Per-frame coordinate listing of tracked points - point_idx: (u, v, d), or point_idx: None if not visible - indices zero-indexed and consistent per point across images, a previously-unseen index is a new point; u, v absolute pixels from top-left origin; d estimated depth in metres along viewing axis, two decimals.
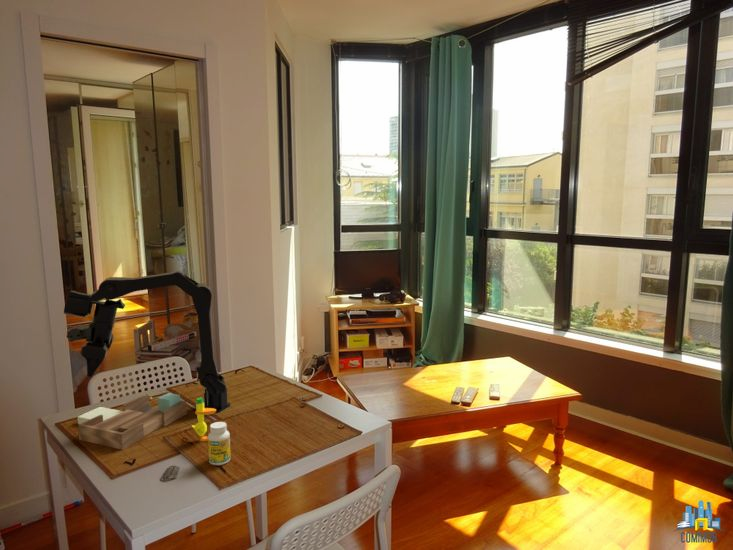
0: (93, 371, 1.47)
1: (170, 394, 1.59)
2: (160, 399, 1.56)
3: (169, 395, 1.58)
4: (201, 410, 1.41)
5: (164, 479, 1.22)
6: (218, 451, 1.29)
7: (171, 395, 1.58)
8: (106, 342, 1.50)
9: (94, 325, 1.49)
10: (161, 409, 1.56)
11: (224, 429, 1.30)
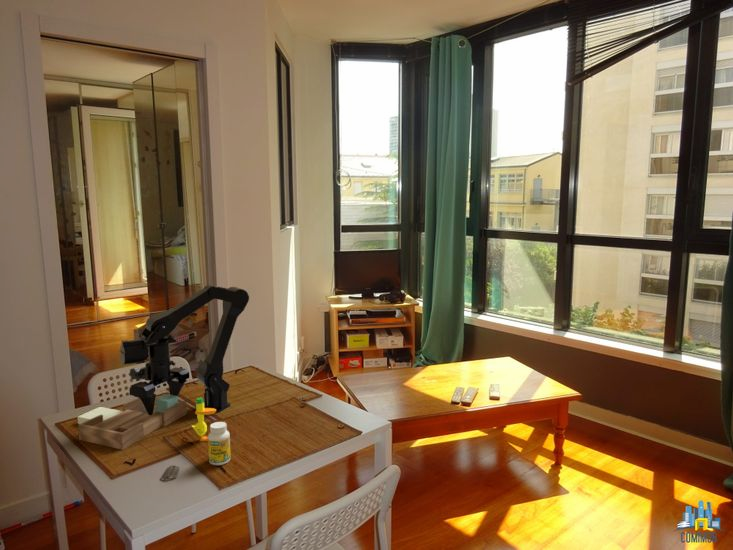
0: (150, 410, 1.49)
1: (168, 395, 1.58)
2: (158, 400, 1.55)
3: (167, 396, 1.57)
4: (201, 410, 1.41)
5: (164, 479, 1.22)
6: (218, 451, 1.29)
7: (168, 396, 1.57)
8: (160, 380, 1.51)
9: (148, 364, 1.51)
10: (159, 410, 1.55)
11: (224, 429, 1.30)
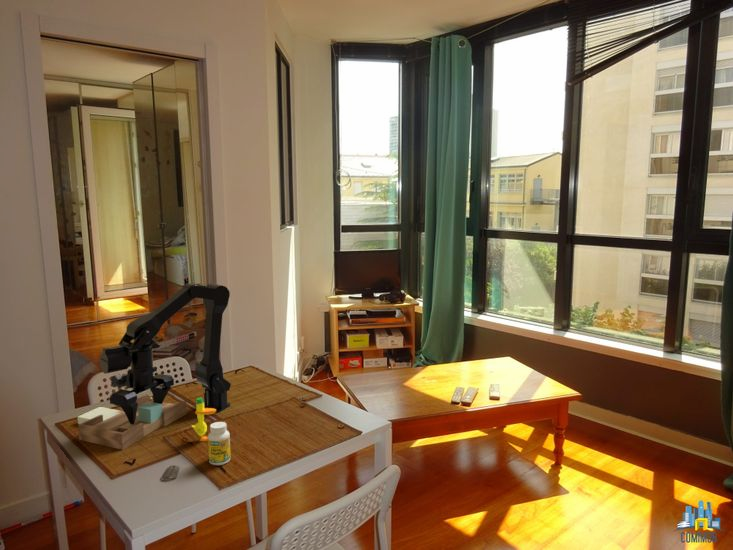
0: (132, 419, 1.43)
1: (151, 403, 1.52)
2: (140, 408, 1.49)
3: (150, 405, 1.51)
4: (201, 410, 1.41)
5: (164, 479, 1.22)
6: (218, 451, 1.29)
7: (152, 404, 1.51)
8: (142, 388, 1.44)
9: (130, 371, 1.45)
10: (142, 419, 1.49)
11: (224, 429, 1.30)
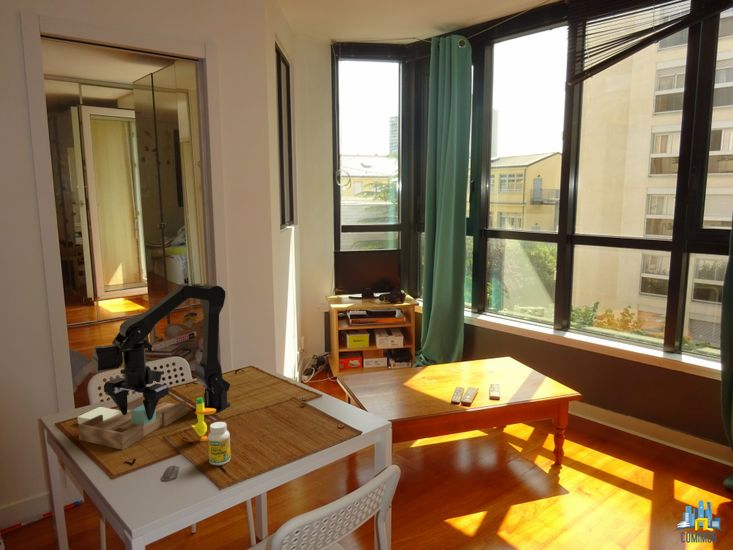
0: None
1: None
2: (133, 411, 1.47)
3: (143, 407, 1.49)
4: (201, 410, 1.41)
5: (165, 479, 1.22)
6: (218, 451, 1.29)
7: None
8: None
9: None
10: (135, 422, 1.47)
11: (224, 429, 1.30)
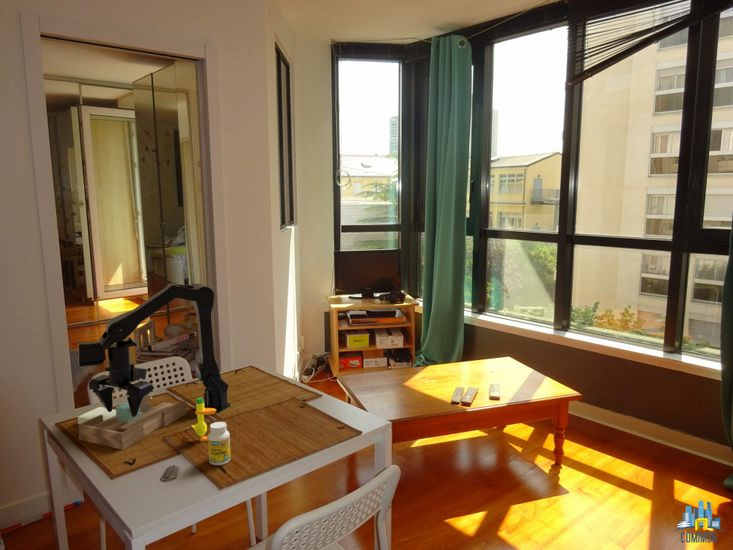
0: None
1: None
2: (118, 408, 1.49)
3: (128, 404, 1.51)
4: (201, 410, 1.41)
5: (165, 479, 1.22)
6: (218, 451, 1.29)
7: None
8: None
9: None
10: (119, 419, 1.49)
11: (224, 429, 1.30)
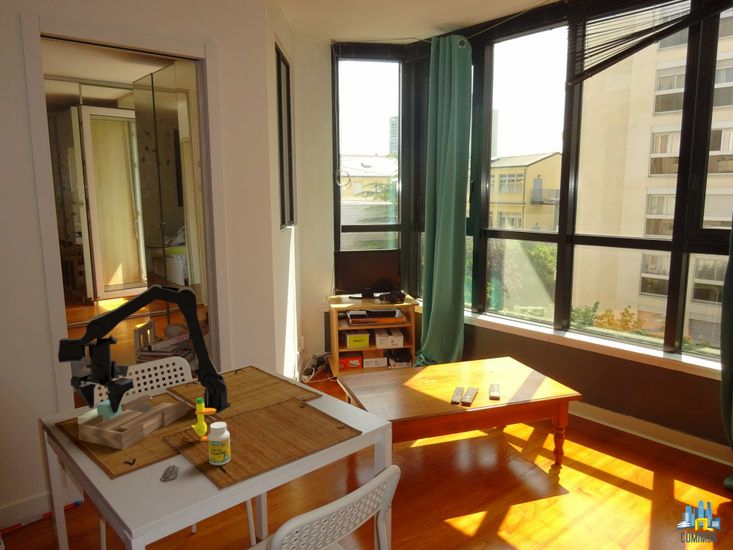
0: None
1: None
2: (99, 405, 1.51)
3: (109, 401, 1.53)
4: (201, 410, 1.41)
5: (165, 479, 1.22)
6: (218, 451, 1.29)
7: None
8: None
9: None
10: None
11: (224, 429, 1.30)
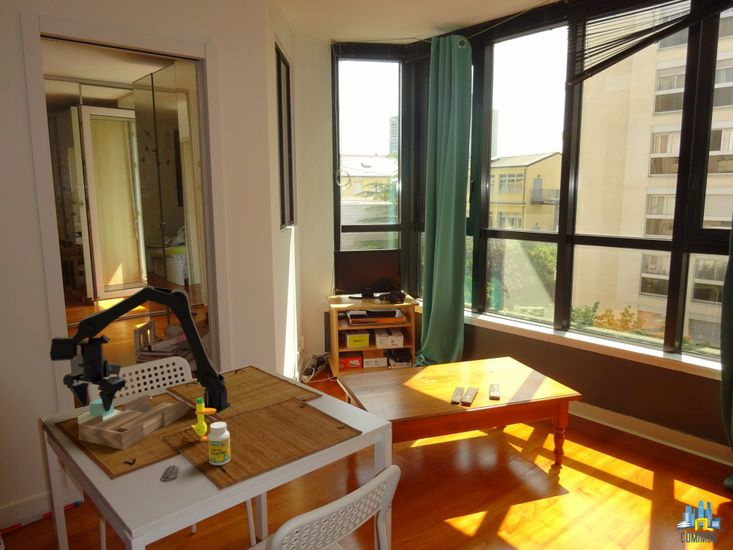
0: None
1: None
2: (91, 404, 1.52)
3: (101, 400, 1.54)
4: (201, 410, 1.41)
5: (165, 479, 1.22)
6: (218, 451, 1.29)
7: None
8: None
9: None
10: (93, 414, 1.53)
11: (224, 429, 1.30)
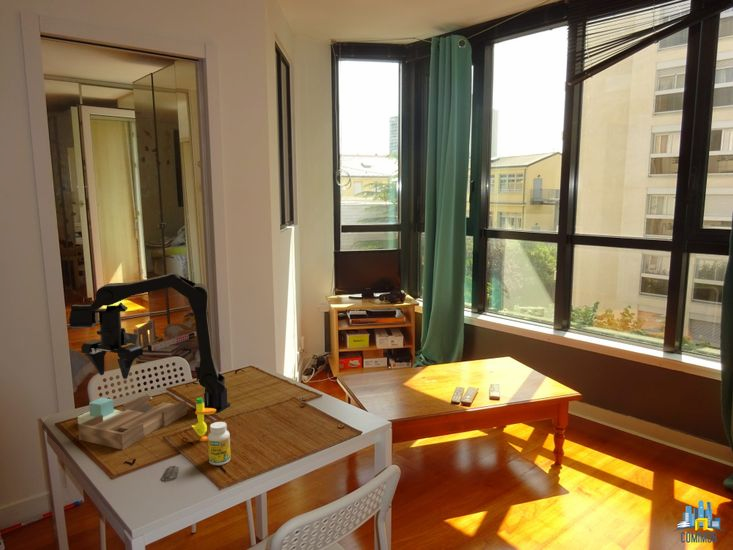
0: None
1: (103, 399, 1.56)
2: (91, 404, 1.52)
3: (101, 400, 1.54)
4: (201, 410, 1.41)
5: (165, 479, 1.22)
6: (218, 451, 1.29)
7: (103, 399, 1.55)
8: None
9: None
10: (92, 414, 1.53)
11: (224, 429, 1.30)
